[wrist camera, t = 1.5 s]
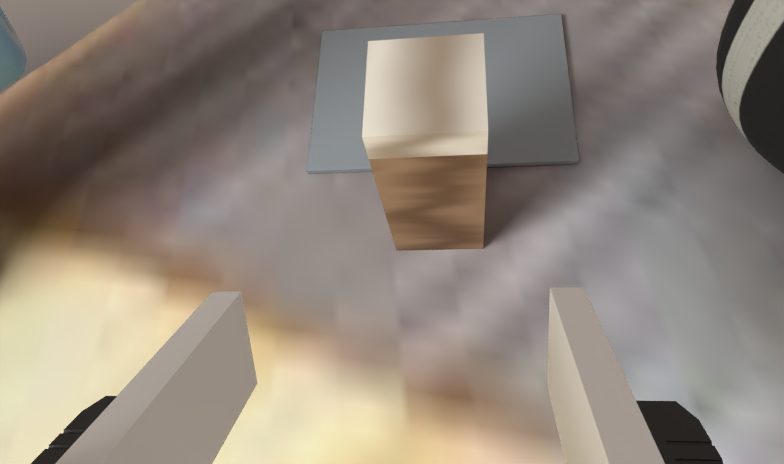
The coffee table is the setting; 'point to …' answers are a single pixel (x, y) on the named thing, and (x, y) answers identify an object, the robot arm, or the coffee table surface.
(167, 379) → the robot arm
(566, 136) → the mat
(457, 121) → the block
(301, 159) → the coffee table surface
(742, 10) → the sunflower seed
